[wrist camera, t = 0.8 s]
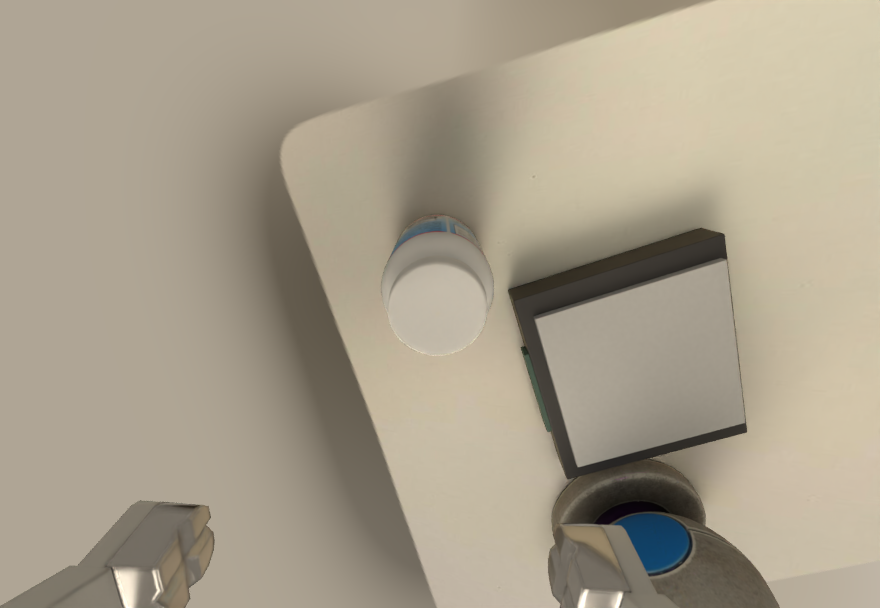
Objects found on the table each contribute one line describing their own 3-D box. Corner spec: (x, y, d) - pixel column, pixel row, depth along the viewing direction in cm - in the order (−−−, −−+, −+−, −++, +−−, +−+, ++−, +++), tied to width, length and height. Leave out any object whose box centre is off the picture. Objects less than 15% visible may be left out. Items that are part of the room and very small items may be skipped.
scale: (502, 291, 30) (509, 305, 27) (701, 227, 29) (731, 235, 26) (554, 459, 35) (565, 486, 32) (726, 413, 34) (753, 437, 31)
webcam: (574, 582, 40) (648, 813, 26) (531, 485, 36) (590, 696, 22) (708, 542, 38) (865, 767, 24) (678, 437, 34) (844, 631, 20)
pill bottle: (392, 292, 30) (365, 363, 20) (399, 208, 28) (374, 237, 18) (473, 301, 30) (491, 377, 20) (487, 219, 28) (514, 254, 18)
